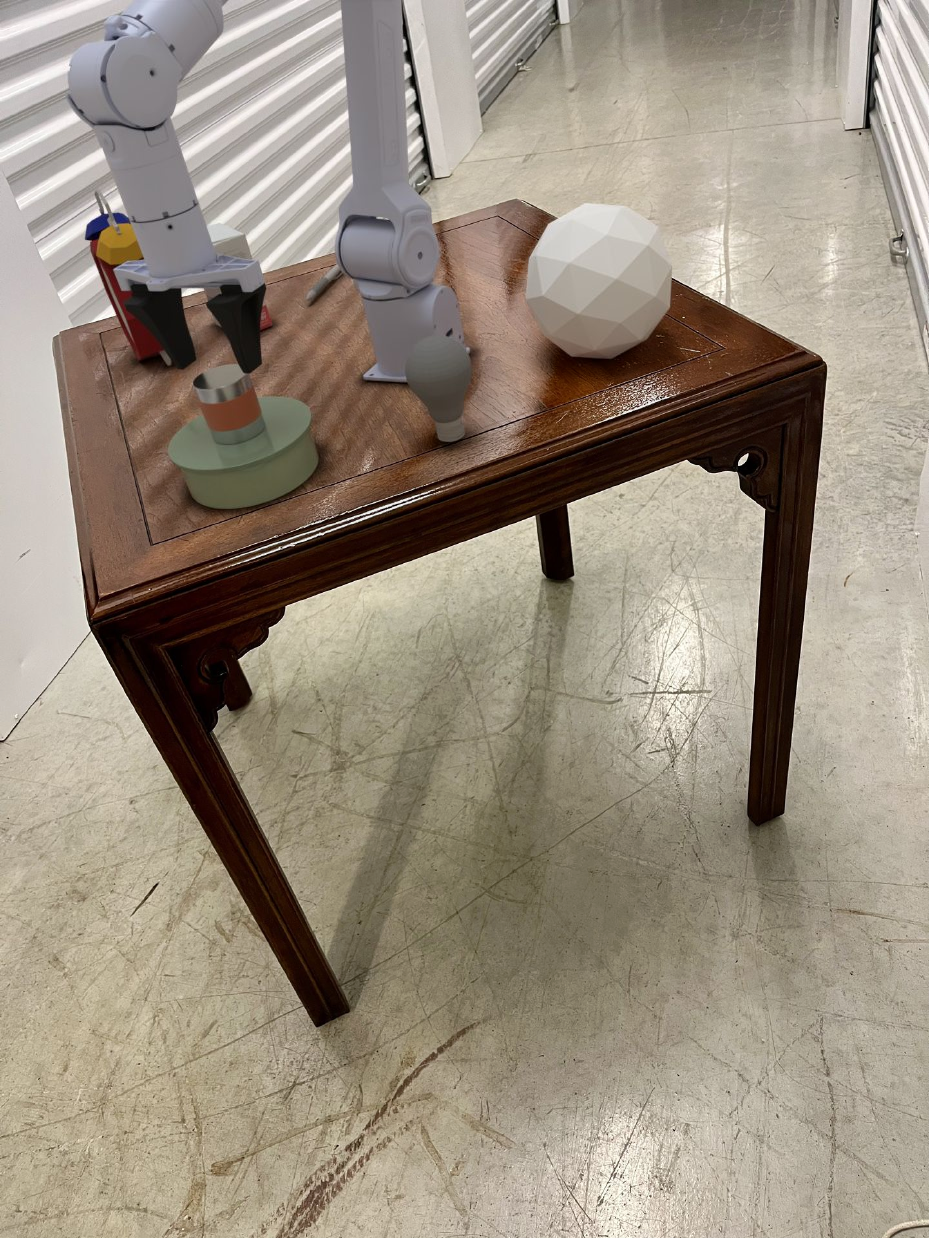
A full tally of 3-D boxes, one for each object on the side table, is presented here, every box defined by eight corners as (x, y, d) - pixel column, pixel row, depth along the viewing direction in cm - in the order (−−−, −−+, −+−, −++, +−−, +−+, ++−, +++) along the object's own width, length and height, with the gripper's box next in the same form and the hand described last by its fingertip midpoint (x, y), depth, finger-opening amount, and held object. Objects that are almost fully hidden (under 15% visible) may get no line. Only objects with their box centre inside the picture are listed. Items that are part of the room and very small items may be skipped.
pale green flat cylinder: (350, 442, 92) (338, 400, 89) (271, 520, 83) (255, 476, 80) (240, 432, 98) (226, 392, 95) (156, 503, 89) (137, 462, 86)
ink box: (274, 326, 120) (246, 231, 113) (240, 340, 118) (208, 244, 111) (248, 311, 126) (218, 220, 119) (214, 324, 124) (182, 232, 117)
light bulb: (408, 445, 89) (385, 345, 83) (453, 418, 92) (433, 319, 86) (451, 461, 86) (430, 358, 79) (496, 432, 88) (479, 330, 82)
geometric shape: (618, 376, 104) (670, 239, 101) (655, 384, 90) (718, 224, 86) (497, 331, 102) (546, 189, 98) (516, 332, 88) (574, 165, 84)
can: (260, 412, 90) (241, 358, 87) (271, 433, 86) (252, 377, 83) (208, 429, 89) (188, 375, 86) (217, 451, 85) (196, 395, 82)
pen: (350, 266, 133) (347, 256, 132) (312, 306, 123) (309, 295, 122) (343, 266, 133) (341, 256, 133) (305, 306, 123) (302, 296, 123)
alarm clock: (126, 344, 124) (60, 184, 111) (188, 323, 126) (131, 164, 114) (149, 380, 113) (78, 207, 100) (217, 356, 115) (157, 184, 103)
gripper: (66, 230, 77) (130, 383, 85) (202, 226, 71) (258, 391, 79) (123, 200, 82) (179, 348, 90) (256, 194, 75) (303, 354, 84)
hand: (219, 366), depth 85 cm, fingers open, 7 cm apart
